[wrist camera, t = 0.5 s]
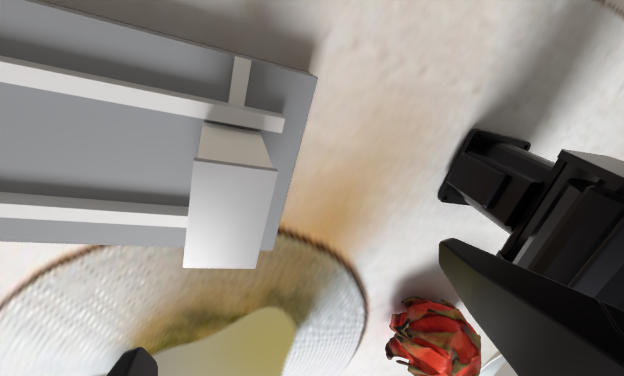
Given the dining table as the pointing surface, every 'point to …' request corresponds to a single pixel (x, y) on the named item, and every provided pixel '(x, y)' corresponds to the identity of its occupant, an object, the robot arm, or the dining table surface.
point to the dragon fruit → (434, 340)
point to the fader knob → (228, 199)
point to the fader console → (125, 125)
